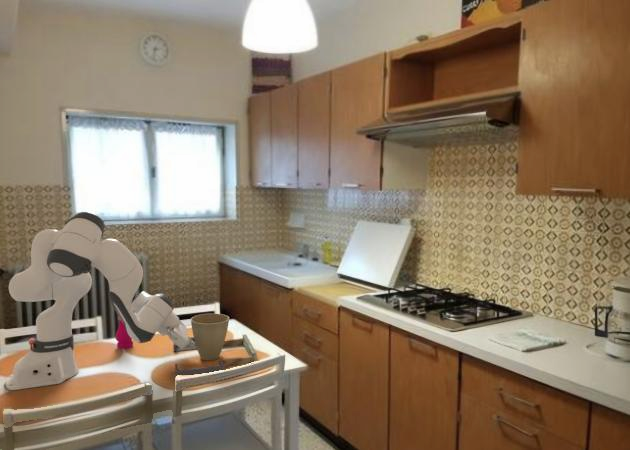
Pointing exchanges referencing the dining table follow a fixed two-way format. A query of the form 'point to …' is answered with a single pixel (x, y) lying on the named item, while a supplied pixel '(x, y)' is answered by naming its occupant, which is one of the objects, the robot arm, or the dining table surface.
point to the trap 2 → (199, 369)
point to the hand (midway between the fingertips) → (194, 345)
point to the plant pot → (209, 334)
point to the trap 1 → (185, 348)
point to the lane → (240, 360)
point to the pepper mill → (123, 337)
